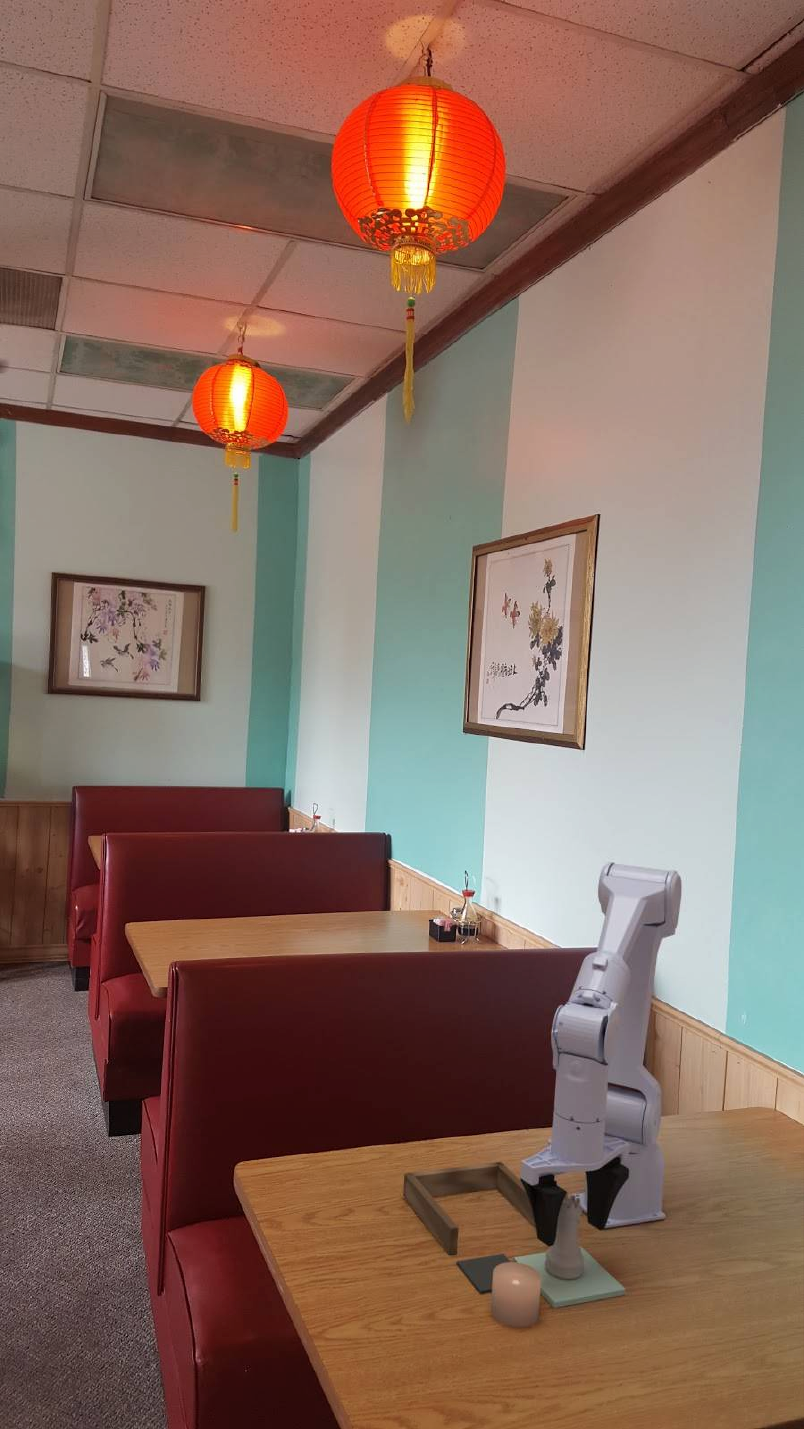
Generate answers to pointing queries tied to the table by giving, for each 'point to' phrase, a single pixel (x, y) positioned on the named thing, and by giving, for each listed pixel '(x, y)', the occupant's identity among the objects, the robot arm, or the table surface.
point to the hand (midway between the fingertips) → (571, 1233)
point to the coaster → (574, 1282)
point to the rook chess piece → (566, 1243)
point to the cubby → (458, 1181)
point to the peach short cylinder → (515, 1294)
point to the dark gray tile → (481, 1270)
